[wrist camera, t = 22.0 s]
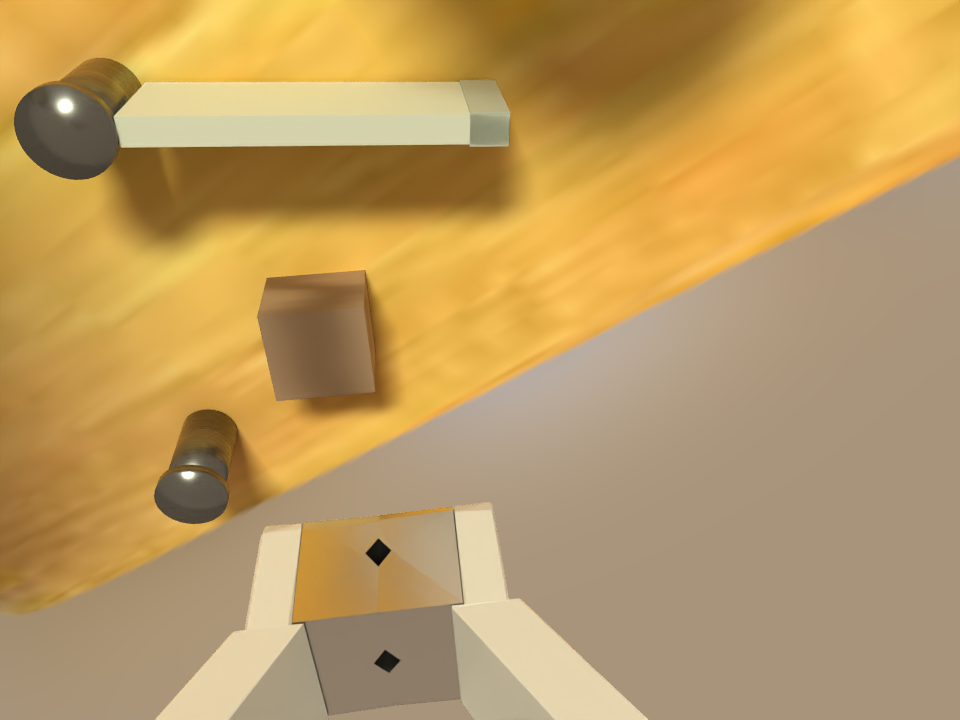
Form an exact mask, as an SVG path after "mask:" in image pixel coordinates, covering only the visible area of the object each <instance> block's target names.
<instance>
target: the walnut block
mask: <svg viewBox="0 0 960 720" xmlns="http://www.w3.org/2000/svg"><path fill="white" fill-rule="evenodd" d="M257 317H258V322H259V326H260V331H261V335H262V339H263V344H264V348H265V353H266V357H267V361H268V366H269V370H270V375H271V379H272V384H273V388H274V392H275V397H276V401H283V400H294V399H305V398H316V397H327V396H338V395H349V394H360V393H371V392H375V364H376V350H375V343H374V335H373V327H372V320H371V312H370V305H369V297H368V289H367V282H366V274H365V270H361V271H349V272H336V273H324V274H311V275H299V276H287V277H274V278H267V280H266V284H265V288H264V292H263V296H262V300H261V304H260V308H259V312H258V316H257Z"/></svg>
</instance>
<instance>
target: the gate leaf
mask: <svg viewBox="0 0 960 720" xmlns="http://www.w3.org/2000/svg"><path fill="white" fill-rule="evenodd" d="M114 120H115V125H116V129H117V133H118V138H119V142H120V146H121V148H125V147H233V146H341V145H449V144H469V146H470V147H494V146H509V126H510V110H509V108H508V106H507V104H506V102H505V100H504V98H503V96H502V94H501V92H500V90H499V87H498V85H497V83H496V81H495V79H492V80H459V82H145V83H144V85H143V86H142V87H141V88H140V89H139V90H138V91H137V92H136V93H135V94H134V95H133V96H132V97H131V98H130V99H129V101H128V102H127V103H126V104H125V105H124V106H123V107H122V108H121V109H120V110H119V111H118V112H117V113H116V114H115V115H114Z"/></svg>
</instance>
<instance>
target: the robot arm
mask: <svg viewBox="0 0 960 720" xmlns="http://www.w3.org/2000/svg"><path fill="white" fill-rule="evenodd" d="M454 699H455V700H456V699H461V703H462V704H463V705H464V707H465V708H466V709H467V711H468V712H469V713H470V715H471V716H472V717H473V719H474V720H648V719H647V718H646V717H645V716H644V715H643V714H642V713H641V712H640V711H639V710H637V709H636V708H635V707H634V706H633V705H632V704H631V703H630V702H629V701H628V700H627V699H626V698H625V697H624V696H623V695H622V694H621V693H620V692H619V691H618V690H616V689H615V688H614V687H613V686H612V685H611V684H610V683H609V682H608V681H607V680H606V679H605V678H604V677H603V676H602V675H600V673H599V672H597V671H596V670H595V669H594V668H593V667H592V666H591V665H590V664H589V663H588V662H587V661H586V660H585V659H584V658H583V657H582V656H581V655H580V654H579V653H577V651H575V650H574V649H573V648H572V647H571V646H570V645H569V644H568V643H567V642H566V641H565V640H564V639H563V638H562V637H561V636H560V635H559V634H558V633H557V632H556V631H554V630H553V629H552V628H551V627H550V626H549V625H548V624H547V623H546V622H545V621H544V620H543V619H542V618H541V617H540V616H539V615H538V614H537V613H536V612H534V611H533V610H532V609H531V608H530V607H529V606H528V605H527V604H526V603H525V602H524V601H523V600H522V599H521V598H518V599H509V595H508V590H507V585H506V578H505V573H504V567H503V561H502V555H501V549H500V543H499V538H498V533H497V526H496V520H495V514H494V509H493V506H492V505H491V503H490V502H486V503H479V504H470V505H462V506H454V510H453V507H446V508H438V509H429V510H421V511H412V512H405V513H396V514H387V515H380V516H374V517H362V518H349V519H338V520H326V521H315V522H305V523H302V524H290V525H276V526H266V527H265V529H264V531H263V533H262V535H261V538H260V544H259V550H258V555H257V561H256V567H255V573H254V579H253V585H252V591H251V596H250V602H249V608H248V615H247V620H246V626H245V630H242V631H236V632H232V633H231V635H230V636H229V637H228V638H227V639H226V640H225V641H224V642H223V644H222V645H221V646H220V647H219V648H218V649H217V651H215V653H214V654H213V655H212V656H211V657H210V658H209V659H208V660H207V662H206V663H205V664H204V665H203V666H202V667H201V668H200V669H199V671H198V672H197V673H196V674H195V675H194V676H193V677H192V678H191V680H190V681H189V682H188V683H187V684H186V685H185V686H184V687H183V689H182V690H181V691H180V692H179V693H178V694H177V695H176V696H175V698H174V699H173V700H172V701H171V702H170V703H169V704H168V706H167V707H166V708H165V709H164V710H163V711H162V712H161V713H160V714H159V716H158V717H157V718H156V719H155V720H329V718H328V716H329V715H335V714H341V713H348V712H354V711H361V710H368V709H375V708H381V707H387V706H394V705H404V704H414V703H425V702H435V701H445V700H454Z"/></svg>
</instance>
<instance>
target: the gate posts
mask: <svg viewBox="0 0 960 720" xmlns="http://www.w3.org/2000/svg"><path fill="white" fill-rule="evenodd" d="M141 87H142V86H141V84H140V82H139V81H138V79H137V78H136V76H135V75H134V74H133V73H132V72H131V71H130V70H129V69H128V68H126V67H125V66H124V65H122V64H120V63H118V62H116V61H113V60H110V59H105V58H95V59H90V60H87V61H85V62H84V63H82V64H81V65H79V66H78V67H77V68H75V69H74V70H73V71H72V72H70V73H69V74H68V75H66V76H65V77H64V78H63V79H61V80H60V81H54V82H48V83H44V84H42V85H40V86H37V87H36V88H34V89H33V90H32V91H30V92H29V93H28V94H26V95H25V96H24V97H23V98H22V100H21V101H20V102H19V104H18V106H17V108H16V112H15V117H14V126H15V132H16V135H17V138H18V141H19V143H20V145H21V146H22V148H23V150H24V151H25V152H26V154H27V155H28V156H29V157H30V158H31V159H32V160H33V161H34V162H35V163H36V164H37V165H38V166H40V167H41V168H43V169H44V170H46V171H48V172H49V173H52V174H54V175H56V176H59V177H62V178H67V179H74V180H82V179H89V178H92V177H95V176H97V175H99V174H101V173H102V172H104V171H105V170H106V169H107V168H108V167H109V166H110V165H111V163H112V162H113V161H114V160H115V158H116V157H117V155H118V152H119V150H120V142H119V138H118V133H117V129H116V125H115V120H114V115H115V114H116V113H117V112H118V111H119V110H120V109H121V108H122V107H123V106H124V105H125V104H126V103H127V102H128V101H129V99H130V98H131V97H132V96H133V95H134V94H135V93H136V92H137V91H138V90H139V89H140V88H141ZM236 438H237V427H236V424H235V423H234V421H233V420H232V419H231V418H230V417H229V416H227V415H226V414H224V413H222V412H219V411H216V410H200V411H197V412H194V413H192V414H191V415H189V416H188V417H187V418H186V420H185V422H184V424H183V427H182V430H181V433H180V436H179V439H178V442H177V446H176V449H175V452H174V455H173V458H172V461H171V464H170V467H169V470H167V471H166V472H165V473H164V474H163V475H162V476H161V477H160V479H159V481H158V483H157V486H156V489H155V494H154V497H155V502H156V504H157V506H158V508H159V509H160V510H161V511H162V512H163V513H164V514H165V515H167V516H168V517H170V518H172V519H174V520H176V521H179V522H183V523H189V524H200V523H205V522H209V521H212V520H214V519H216V518H217V517H219V516H220V515H221V514H222V513H223V512H224V510H225V509H226V506H227V503H228V498H229V487H228V484H227V483H226V481H227V477H228V472H229V468H230V464H231V459H232V455H233V451H234V447H235V442H236Z"/></svg>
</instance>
